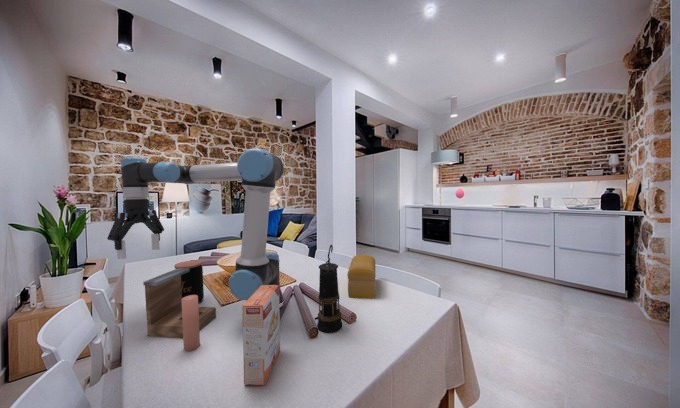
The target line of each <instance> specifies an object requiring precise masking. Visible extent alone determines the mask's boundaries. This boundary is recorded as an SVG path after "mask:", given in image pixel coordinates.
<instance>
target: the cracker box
mask: <svg viewBox="0 0 680 408" xmlns="http://www.w3.org/2000/svg"><path fill="white" fill-rule="evenodd" d="M241 307H242V309H241V311H242V312H241V313H242V350H243V351H242V353H243V354H242V355H243V358H242V359H243V385H244V384H252V385H251V386H266V384H267V381H268V379H269V376H270V375H271V372H272V370H273V368H274V365H275V363H276V362H277V359H278V356H279V354H280V351H281V330H280V329H281V324H280V323H281V321H280V316H281V315H280V309H279V285H261V286H260V287H259V288H258V290H257V291H256V292H255V293H254V294H253V295H252V296H251V297H250V298H249V299H248V300H245V302H244V303H242V306H241Z"/></svg>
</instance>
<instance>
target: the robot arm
mask: <svg viewBox="0 0 680 408" xmlns="http://www.w3.org/2000/svg"><path fill="white" fill-rule="evenodd" d="M120 160H121V161H120V172H121V182H122V197H123V198H124V200H123V209H124V210H125V212H116V213H115V220H114V222H113V224H112V227H111V229H110V231H109V234H108V236H107V240H108V241H113V242H114V249H115V251H116V253H117V254H116V255H117V256H116V257H117V260H118V259H119V260H126V259H127V252H126V251H127V249H126V240H125V239H124V238H125V236H127V234H128V232H129V231H130V229H131V228H132V227H133V226H134V225H135V224H139V223H142V224H144V225H145V226H146V227H147V228H148V230H150V231H151V232H152V233H151V234H150V235H151V236H150V237H151V250H152V251H157V250H160V249H161V248H160V240H161V234H162V233H163V232H164V231H165V227H164V226H163V224H162V222H161V220H160V219H159V217H158V214H157V211H156V209H150V200H149V197H150V193H149V192H150V191H149V183H165V184H184V185H193V184H197V183H214V182H215V183H217V182H232V181H233V182H234V181H241V187H242V188H243V189H244V190H245V195H244V197H245V198H244V209H243V210H244V211H243V222H242V237H241V249H240V256H239V257H237V258H236V260H235V268H234V269H235V270H234V272H233V273H232V274H231V275H230V277H229V279H228V288H229V291H230V293H231V295H233V296H234V297H235V298H236V299H239V300H241V301H247V300H248V299H249V298H250V297H251V296H252V295H253V294H254V293H255V292H256V291H257V290H258V288H259V287H260V286H261V285H279V304H280V303H282V302H283V301H284V302H285V297H284V294H283V291H282V289H281V285H280V279H281V278H280V276H281V275H280V257H279V256H280V255H279V254H278V253H276V252H267V241H268V240H267V239H268V228H269V225H268V224H269V216H270V215H269V214H270V202H271V193H272V192H273V191H274V190H275V189H276V182H277V181H279V180H280V179H281V178H282V177H283V175H284V172H285V168H284V163H283V161H282V159H281V158H280V157H279V156H277V154H276V155H275V154H273V153H271V152H269V151H267V150H265V149H262V148H257V147H254V148H249V149H246V150H245V151H244V152H243V153H241V154H240V156H239V158H238V160H237V162H226V163H225V162H224V163H210V164H209V163H207V164H194V165H179V164H176V163H174V162H171V161H158V162H157V161H156V162H148V161H147V159H146V158H144V157H134V156H133V157H132V156H131V157H130V156H126V157H122V158H121V159H120ZM149 209H150V210H149ZM123 239H124V240H123Z"/></svg>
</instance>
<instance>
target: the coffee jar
mask: <svg viewBox="0 0 680 408" xmlns="http://www.w3.org/2000/svg"><path fill="white" fill-rule="evenodd" d="M202 264H203V261H202V260H199V259H195V260H193V259H192V260H185V261H180V262H177V263H176V264H174V265H173V266H174V270H175V269H177V268H189V269H190V271H189V272H187V273H185V274H182V275H181V290H182V298H184V297H186V296H189V295H197V296H198V305H199V304H200V303H202V301H203V300H204V298H205V295H204V292H205V291H204V269H203V265H202Z"/></svg>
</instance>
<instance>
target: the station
mask: <svg viewBox="0 0 680 408" xmlns="http://www.w3.org/2000/svg"><path fill="white" fill-rule="evenodd" d="M189 271H190V269H189V268H177V269H175V268H174V269H173V270H169V271H167V272H165V273H162V274H159V275H157V276H155V277H153V278H150V279H147V280H145V281H143V282H142V283H143V286H144V293H145V296H144V297H145V311H146V312H145V313H146V331H147V336H148V337H160V338H177V339H183V320H182V290H181V275H182V274H185V273H187V272H189ZM216 308H217V307H215V306H198V310H199V332H200V331H202V329H204V328H205V327H206V326H207V325H208V324H210V323H211V322H212V321H213V320H214V319H216V318H217V310H216Z"/></svg>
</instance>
